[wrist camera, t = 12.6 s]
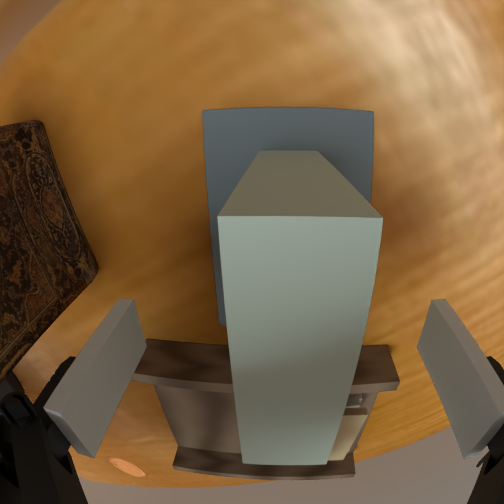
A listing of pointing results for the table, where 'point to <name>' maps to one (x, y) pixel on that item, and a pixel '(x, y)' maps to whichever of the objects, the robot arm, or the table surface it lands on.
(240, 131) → the mat
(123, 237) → the table surface
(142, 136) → the table surface
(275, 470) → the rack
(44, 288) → the book
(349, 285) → the upright sage slab
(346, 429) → the offcut oak
